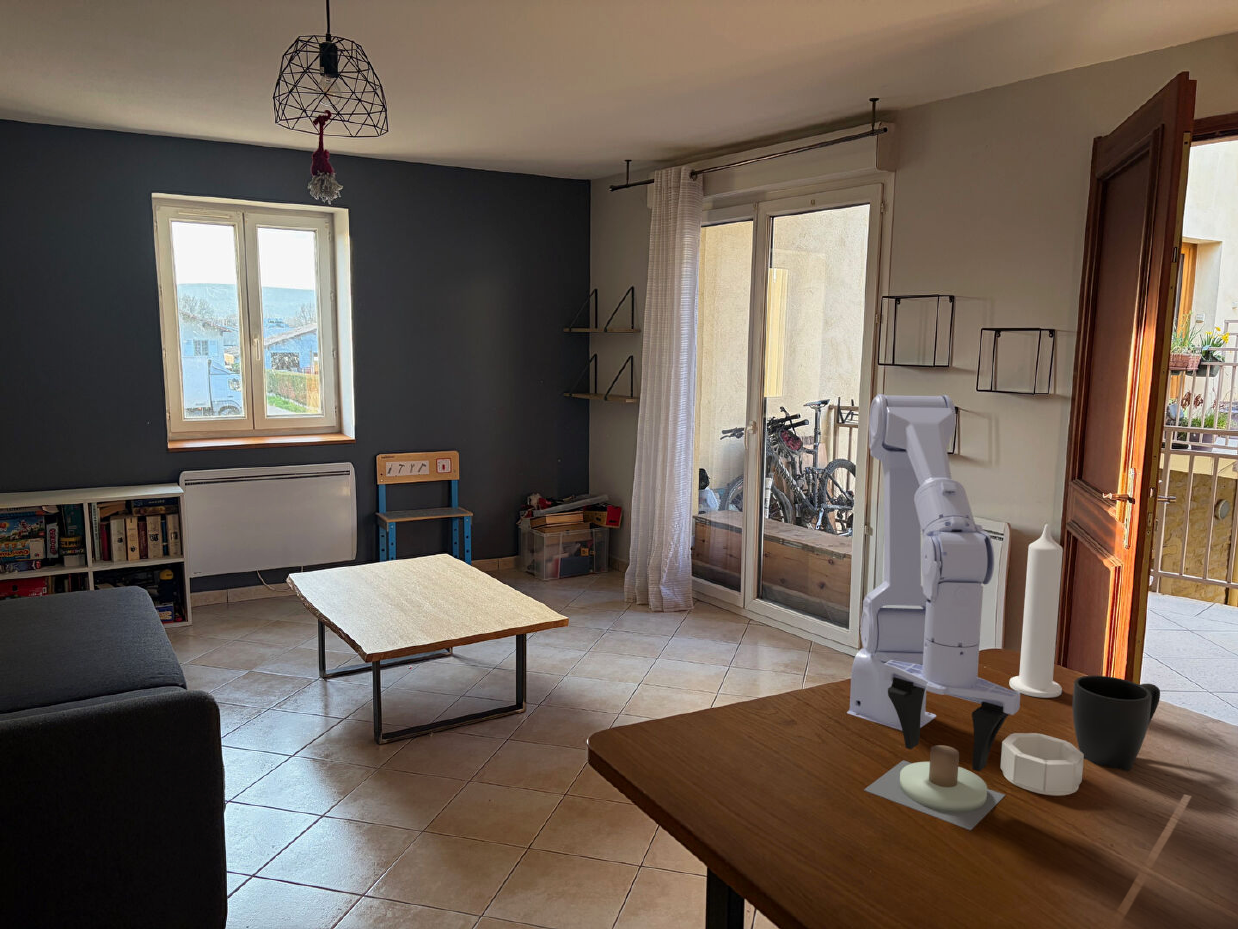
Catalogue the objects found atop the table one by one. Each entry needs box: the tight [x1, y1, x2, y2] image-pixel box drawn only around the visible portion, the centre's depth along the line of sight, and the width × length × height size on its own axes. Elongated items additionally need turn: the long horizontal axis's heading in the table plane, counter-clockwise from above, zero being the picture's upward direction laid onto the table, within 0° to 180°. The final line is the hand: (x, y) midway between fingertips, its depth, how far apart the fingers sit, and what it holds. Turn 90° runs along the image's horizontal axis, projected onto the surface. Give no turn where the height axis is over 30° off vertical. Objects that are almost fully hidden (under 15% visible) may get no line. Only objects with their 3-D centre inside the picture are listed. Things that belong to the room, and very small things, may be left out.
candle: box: [1008, 524, 1064, 699], centre depth 129 cm, size 7×7×25 cm
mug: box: [1071, 675, 1161, 772], centre depth 107 cm, size 8×12×10 cm
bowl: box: [1000, 732, 1085, 796], centre depth 101 cm, size 8×8×4 cm
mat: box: [863, 759, 1006, 831], centre depth 98 cm, size 12×10×1 cm
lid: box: [900, 744, 988, 812], centre depth 98 cm, size 9×9×5 cm
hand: (944, 756), depth 98 cm, fingers open, 7 cm apart
